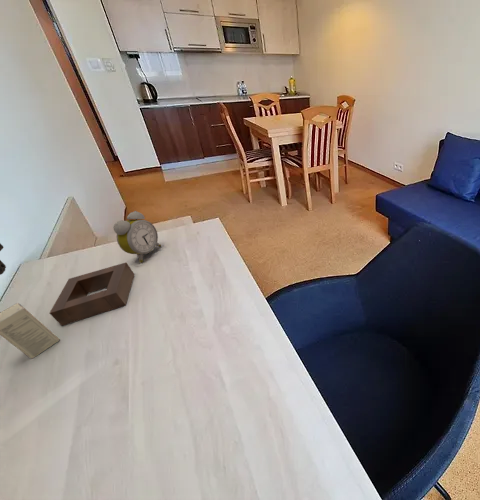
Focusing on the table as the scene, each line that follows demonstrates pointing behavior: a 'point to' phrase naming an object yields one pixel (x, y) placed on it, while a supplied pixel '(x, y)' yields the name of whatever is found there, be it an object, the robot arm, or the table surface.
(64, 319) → the socket block
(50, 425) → the table surface
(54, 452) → the table surface
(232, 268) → the table surface
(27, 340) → the cosmetic box
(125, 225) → the alarm clock
